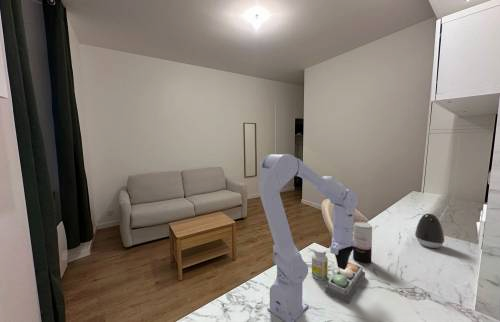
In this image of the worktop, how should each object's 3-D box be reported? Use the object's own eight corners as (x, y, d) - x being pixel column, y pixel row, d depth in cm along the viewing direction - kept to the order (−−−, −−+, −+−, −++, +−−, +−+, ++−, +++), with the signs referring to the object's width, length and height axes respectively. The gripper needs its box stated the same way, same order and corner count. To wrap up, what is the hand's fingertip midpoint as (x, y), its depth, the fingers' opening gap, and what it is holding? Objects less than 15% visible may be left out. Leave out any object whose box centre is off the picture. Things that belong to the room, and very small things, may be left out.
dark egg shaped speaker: (420, 248, 91) (421, 216, 90) (411, 239, 100) (412, 209, 100) (449, 252, 87) (450, 218, 86) (437, 242, 97) (438, 211, 96)
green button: (344, 289, 60) (344, 284, 60) (331, 283, 62) (331, 278, 62) (348, 282, 63) (349, 278, 62) (336, 277, 65) (336, 272, 65)
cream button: (350, 280, 64) (350, 275, 64) (337, 275, 66) (337, 270, 66) (354, 275, 66) (354, 270, 66) (342, 270, 69) (342, 265, 69)
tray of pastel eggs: (348, 304, 58) (348, 292, 58) (324, 292, 63) (325, 281, 63) (364, 277, 70) (365, 267, 70) (344, 269, 75) (344, 260, 75)
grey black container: (357, 254, 86) (357, 220, 85) (374, 261, 81) (374, 224, 80) (350, 259, 82) (350, 224, 81) (367, 267, 77) (368, 228, 76)
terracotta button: (355, 276, 68) (356, 271, 68) (343, 271, 70) (343, 267, 70) (359, 271, 70) (359, 266, 70) (347, 266, 73) (347, 262, 73)
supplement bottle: (315, 281, 68) (315, 253, 68) (309, 271, 74) (309, 246, 73) (330, 280, 69) (330, 253, 69) (323, 270, 74) (323, 245, 74)
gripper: (348, 236, 55) (347, 284, 56) (363, 223, 66) (362, 263, 66) (323, 229, 60) (323, 273, 61) (341, 218, 70) (340, 255, 71)
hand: (342, 267), depth 64 cm, fingers closed
